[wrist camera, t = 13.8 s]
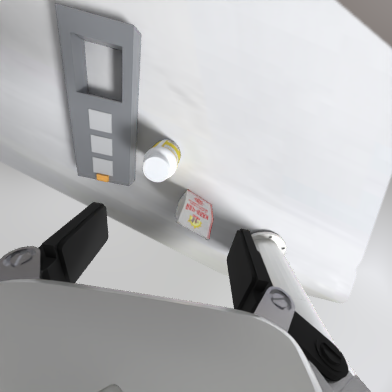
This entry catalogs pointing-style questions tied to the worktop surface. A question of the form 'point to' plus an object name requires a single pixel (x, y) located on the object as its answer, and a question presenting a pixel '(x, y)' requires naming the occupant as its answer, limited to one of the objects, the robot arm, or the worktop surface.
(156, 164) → the supplement bottle
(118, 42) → the power strip
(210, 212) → the white gable-top box
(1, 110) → the worktop surface
